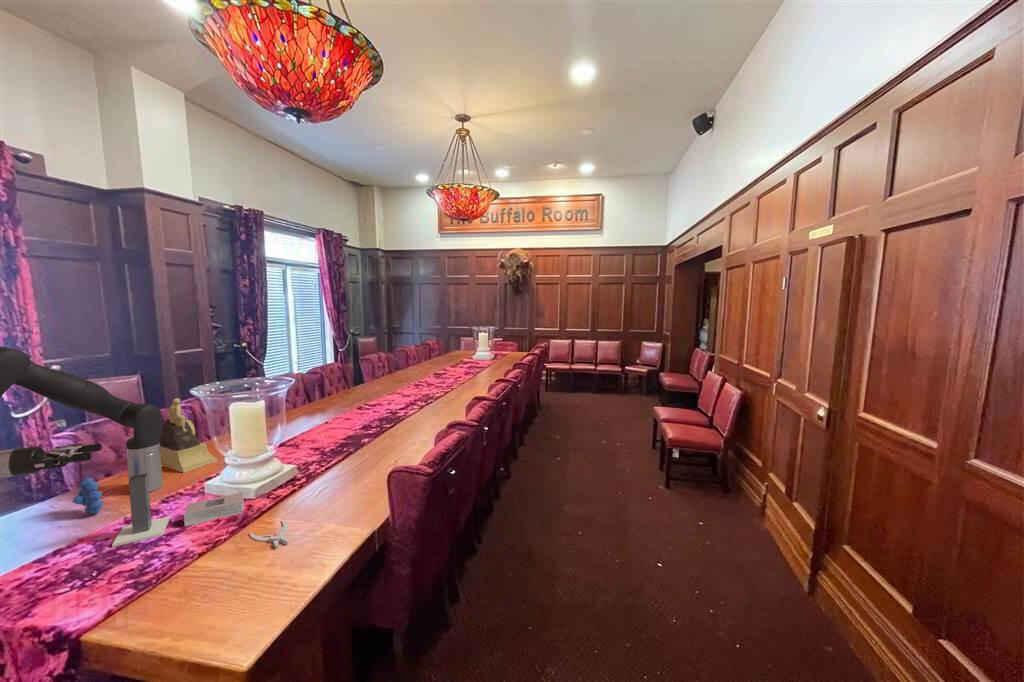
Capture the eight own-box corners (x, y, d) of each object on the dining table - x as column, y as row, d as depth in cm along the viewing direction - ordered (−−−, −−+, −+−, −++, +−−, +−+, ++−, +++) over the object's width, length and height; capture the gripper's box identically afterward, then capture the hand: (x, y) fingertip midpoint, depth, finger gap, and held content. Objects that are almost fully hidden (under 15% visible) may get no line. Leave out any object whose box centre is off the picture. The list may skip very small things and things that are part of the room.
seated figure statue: (217, 462, 174) (213, 397, 171) (183, 473, 162) (179, 403, 159) (182, 452, 185) (178, 391, 183) (148, 462, 173) (144, 397, 171)
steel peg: (136, 528, 120) (132, 475, 118) (151, 525, 122) (147, 473, 120) (132, 534, 117) (128, 480, 115) (148, 530, 119) (144, 477, 117)
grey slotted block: (188, 515, 129) (187, 503, 129) (243, 502, 137) (243, 492, 137) (184, 526, 122) (184, 514, 122) (242, 512, 131) (242, 501, 130)
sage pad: (123, 528, 121) (123, 526, 121) (169, 518, 127) (169, 516, 127) (112, 547, 112) (112, 544, 112) (162, 535, 118) (162, 532, 118)
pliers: (283, 517, 126) (300, 535, 116) (284, 522, 126) (301, 540, 116) (248, 530, 119) (263, 550, 109) (248, 535, 119) (263, 556, 109)
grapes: (66, 515, 129) (62, 480, 128) (94, 505, 135) (91, 472, 134) (81, 523, 124) (78, 487, 123) (110, 513, 130) (107, 479, 129)
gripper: (-2, 457, 101) (86, 446, 110) (25, 442, 113) (103, 432, 122) (1, 485, 102) (88, 471, 111) (28, 466, 114) (105, 455, 123)
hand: (96, 451), depth 117 cm, fingers open, 8 cm apart
